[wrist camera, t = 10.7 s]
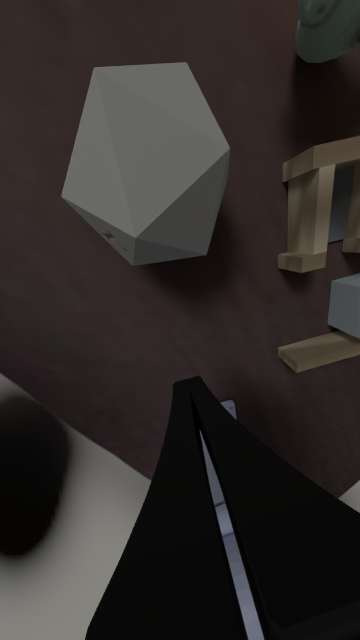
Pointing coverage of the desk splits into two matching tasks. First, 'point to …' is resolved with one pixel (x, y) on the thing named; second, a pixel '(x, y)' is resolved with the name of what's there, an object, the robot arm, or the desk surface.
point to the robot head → (327, 29)
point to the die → (148, 163)
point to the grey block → (345, 305)
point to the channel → (321, 233)
